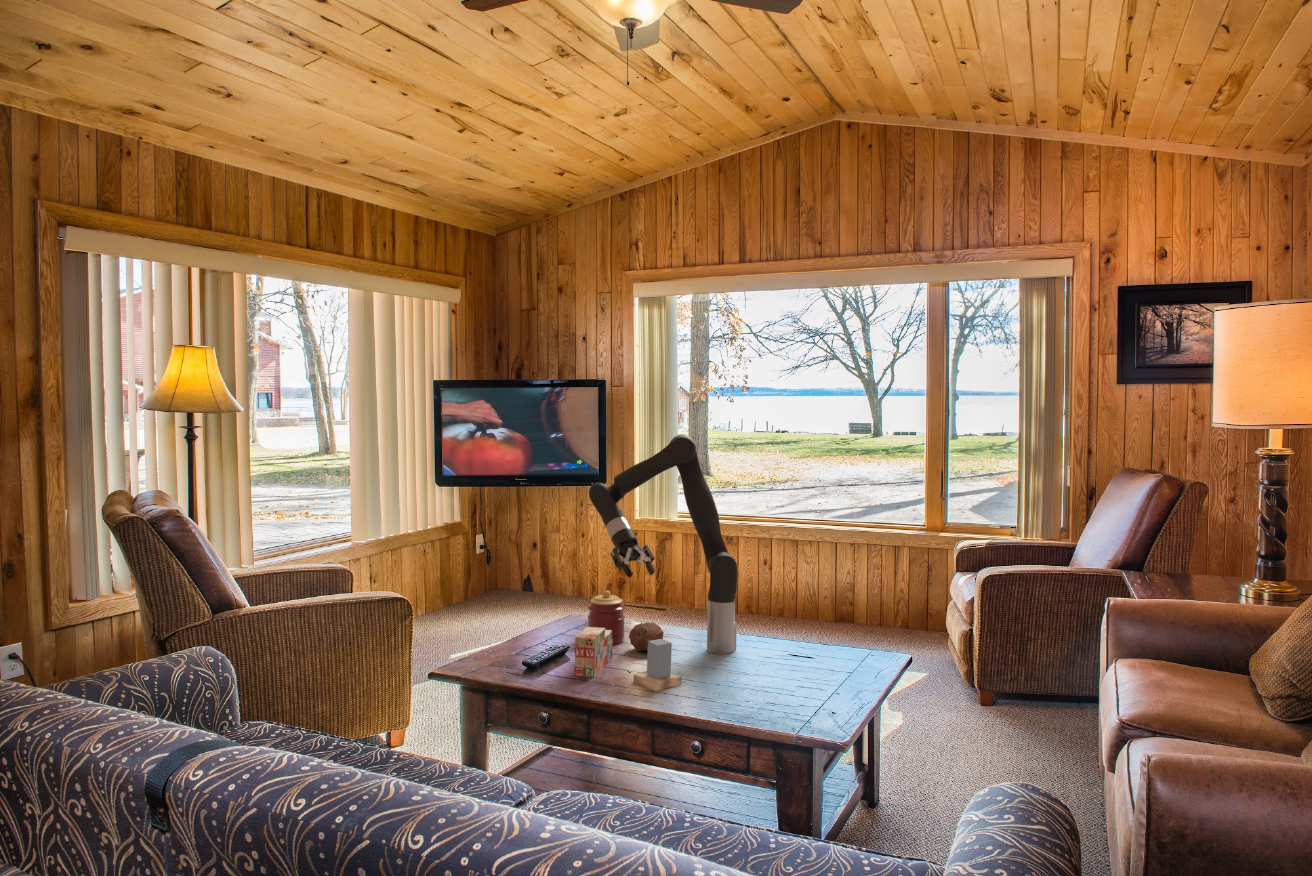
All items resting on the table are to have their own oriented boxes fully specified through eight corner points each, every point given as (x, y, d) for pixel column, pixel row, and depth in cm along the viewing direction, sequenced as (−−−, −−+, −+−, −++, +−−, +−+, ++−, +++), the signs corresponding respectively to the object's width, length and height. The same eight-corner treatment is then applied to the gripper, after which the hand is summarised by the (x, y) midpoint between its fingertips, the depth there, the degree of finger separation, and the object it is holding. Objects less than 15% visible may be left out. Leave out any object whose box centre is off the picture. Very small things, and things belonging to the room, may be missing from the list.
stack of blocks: (593, 656, 273) (594, 619, 272) (612, 658, 272) (613, 620, 271) (574, 676, 252) (575, 636, 252) (594, 678, 251) (595, 637, 250)
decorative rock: (649, 658, 272) (650, 628, 272) (621, 652, 278) (621, 622, 278) (670, 649, 283) (670, 620, 283) (642, 643, 289) (643, 615, 289)
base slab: (658, 677, 254) (659, 667, 254) (681, 686, 246) (681, 676, 246) (633, 684, 247) (633, 674, 247) (655, 693, 240) (655, 683, 239)
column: (660, 671, 250) (661, 638, 249) (670, 676, 245) (671, 643, 245) (646, 674, 247) (648, 641, 246) (656, 679, 243) (657, 645, 242)
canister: (609, 647, 283) (610, 596, 283) (579, 641, 290) (580, 591, 290) (631, 639, 294) (632, 590, 294) (602, 633, 301) (602, 585, 301)
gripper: (608, 528, 266) (629, 570, 257) (643, 525, 275) (664, 565, 266) (598, 543, 271) (618, 584, 262) (633, 539, 279) (654, 579, 271)
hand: (641, 574), depth 264 cm, fingers open, 8 cm apart
